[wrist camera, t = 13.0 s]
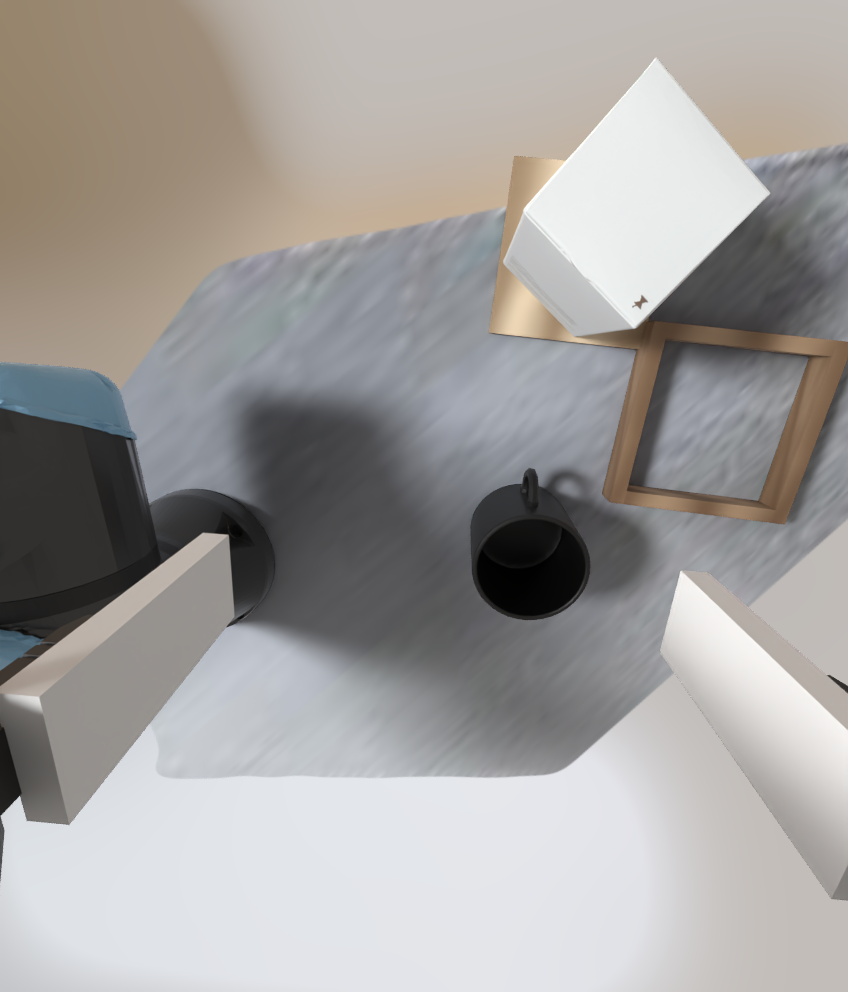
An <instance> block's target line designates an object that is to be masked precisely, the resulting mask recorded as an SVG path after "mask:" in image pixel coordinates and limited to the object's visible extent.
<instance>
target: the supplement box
mask: <svg viewBox="0 0 848 992" xmlns="http://www.w3.org/2000/svg"><path fill="white" fill-rule="evenodd" d="M769 195H770V192H769V191H768V190H767V188H766V187H765V186H764V185H763V184H762V183H761V181H760V180H759V179H758V178H757V177H756V176H755V174H754V173H753V172H752V171H751V170H750V168H749V167H748V166H747V165H746V163H745V162H744V161H743V160H742V159H741V157H740V156H739V155H738V154H737V153H736V151H734V149H733V148H732V147H731V145H730V144H729V143H728V142H727V141H726V140H725V138H724V137H723V136H722V135H721V133H720V132H719V131H718V130H717V129H716V127H715V126H714V125H713V124H712V123H711V122H710V120H709V119H708V118H707V117H706V115H705V114H704V113H703V112H702V111H701V110H700V108H699V107H698V106H697V105H696V103H695V102H694V101H693V100H692V99H691V98H690V96H689V95H688V94H687V93H686V92H685V91H684V89H683V88H682V87H681V86H680V85H679V84H678V83H677V82H676V80H675V79H674V78H673V77H672V75H671V74H670V73H669V72H668V70H667V69H666V68H665V67H664V66H663V64H662V63H661V62H660V60H659V59H658V58H655V59H654V61H653V62H652V63H651V64H650V66H649V67H648V68H647V69H646V70H645V72H644V73H643V74H642V75H641V76H640V77H639V79H638V80H637V81H636V82H635V83H634V84H633V85H632V87H631V88H630V89H629V90H628V91H627V92H626V94H625V95H624V96H623V97H622V98H621V99H620V100H619V101H618V103H617V104H616V105H615V106H614V107H613V108H612V109H611V111H610V112H609V113H608V114H607V115H606V116H605V117H604V119H603V120H602V121H601V122H600V123H599V124H598V125H597V127H596V128H595V129H594V130H593V131H592V132H591V133H590V135H589V136H588V137H587V138H586V139H585V140H584V141H583V143H582V144H581V145H580V146H579V147H578V148H577V149H576V151H575V152H574V153H573V154H572V155H571V156H570V157H569V158H568V159H567V160H566V161H565V163H564V164H563V165H562V166H561V167H560V168H559V169H558V170H557V171H556V173H555V174H554V175H553V176H552V177H551V178H550V179H549V180H548V182H547V183H546V184H545V185H544V186H543V187H542V188H541V190H540V191H539V192H538V193H537V194H536V195H535V196H534V198H533V199H532V200H531V201H530V202H529V203H528V204H527V205H526V207H525V208H524V210H523V214H522V216H521V219H520V222H519V224H518V227H517V229H516V232H515V234H514V237H513V239H512V242H511V244H510V246H509V249H508V251H507V254H506V256H505V258H504V260H503V263H504V265H505V266H506V267H507V268H508V269H509V271H510V272H511V273H512V274H513V275H514V276H515V277H516V278H517V279H518V280H519V281H520V282H521V283H522V284H523V285H524V286H525V287H526V288H527V289H528V290H529V291H530V292H531V293H532V294H533V295H534V296H535V297H536V298H537V299H538V301H539V302H540V303H541V304H542V305H543V306H544V307H545V308H546V309H547V310H548V311H549V312H550V313H551V314H552V315H553V316H554V317H555V318H556V319H557V320H558V321H559V322H560V323H561V324H562V325H563V326H564V327H565V328H566V329H567V330H568V331H569V332H570V333H571V334H572V335H573V336H574V337H578V336H586V335H593V334H600V333H606V332H613V331H621V330H628V329H635V328H637V327H638V326H639V325H640V324H641V323H642V322H643V321H644V320H645V319H646V318H647V317H648V316H649V315H650V314H651V313H653V312H654V311H655V310H656V309H657V308H658V307H659V306H660V305H661V304H662V303H663V302H664V301H665V299H666V298H667V297H668V296H669V295H670V294H671V293H672V292H673V291H674V290H675V289H676V288H677V287H678V286H679V285H680V284H681V283H682V282H683V281H684V280H685V279H686V278H687V277H688V276H689V275H690V274H691V273H692V272H693V271H694V270H695V269H696V268H697V267H698V266H699V265H700V264H701V263H702V262H703V261H704V260H705V259H706V258H707V257H708V256H709V255H710V254H711V253H712V252H713V251H714V250H715V249H716V248H717V247H718V246H719V245H720V244H721V243H722V242H723V241H724V240H725V239H726V238H727V237H728V236H729V235H730V234H731V233H732V232H733V231H734V230H735V229H736V228H737V227H738V226H739V225H740V224H741V223H742V222H743V221H744V220H745V219H746V218H747V217H748V216H749V215H750V214H751V213H752V212H753V211H754V210H755V209H756V208H757V207H758V206H759V205H760V204H761V203H762V202H763V201H764V200H765V199H766V198H767V197H768V196H769Z"/></svg>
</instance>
